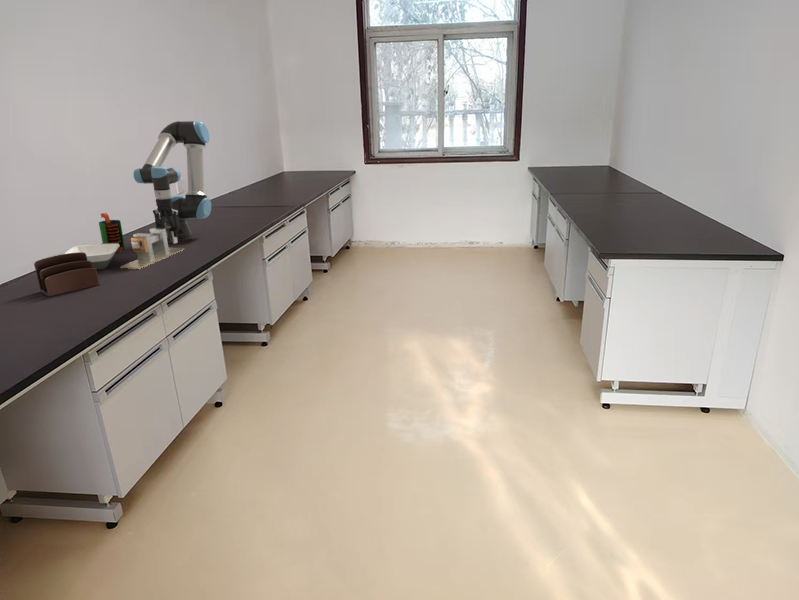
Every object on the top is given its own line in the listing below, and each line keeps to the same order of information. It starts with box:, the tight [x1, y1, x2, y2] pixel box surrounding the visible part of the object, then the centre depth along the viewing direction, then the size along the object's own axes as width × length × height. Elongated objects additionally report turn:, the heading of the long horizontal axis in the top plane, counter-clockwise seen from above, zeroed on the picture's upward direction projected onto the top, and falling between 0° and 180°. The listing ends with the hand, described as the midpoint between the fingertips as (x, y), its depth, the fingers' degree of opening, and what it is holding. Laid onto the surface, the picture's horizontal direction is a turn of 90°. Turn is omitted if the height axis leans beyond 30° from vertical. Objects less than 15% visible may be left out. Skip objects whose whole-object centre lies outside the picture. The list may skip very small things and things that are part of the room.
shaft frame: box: [120, 227, 185, 270], centre depth 267 cm, size 10×36×14 cm, turn 167°
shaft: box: [130, 226, 179, 249], centre depth 269 cm, size 5×30×7 cm, turn 167°
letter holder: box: [33, 252, 101, 297], centre depth 225 cm, size 10×20×14 cm, turn 138°
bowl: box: [63, 243, 120, 270], centre depth 256 cm, size 22×23×8 cm
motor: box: [98, 212, 126, 253], centre depth 281 cm, size 10×9×20 cm
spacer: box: [130, 236, 149, 254], centre depth 258 cm, size 7×2×7 cm, turn 77°
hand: (170, 242), depth 281 cm, fingers closed on shaft, 5 cm apart
